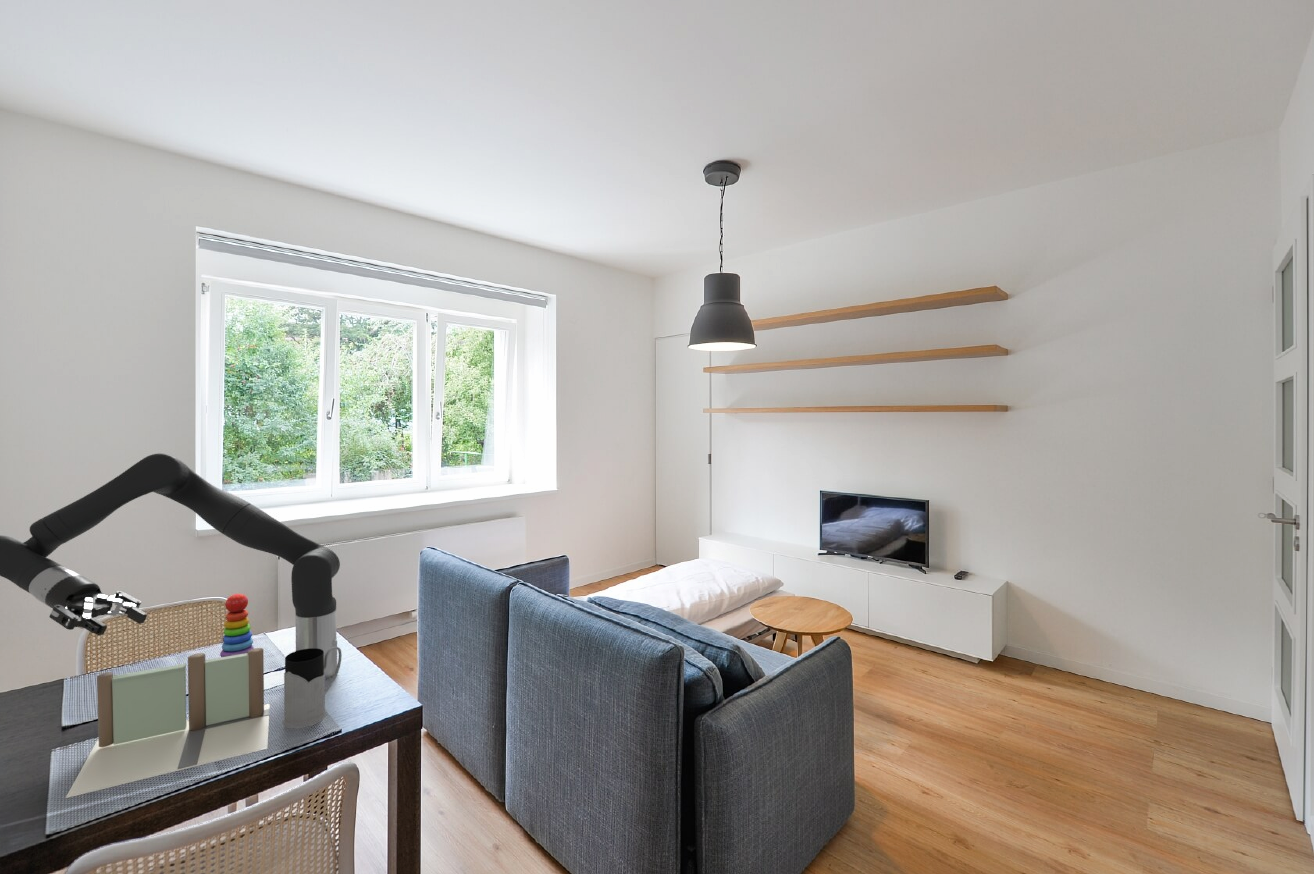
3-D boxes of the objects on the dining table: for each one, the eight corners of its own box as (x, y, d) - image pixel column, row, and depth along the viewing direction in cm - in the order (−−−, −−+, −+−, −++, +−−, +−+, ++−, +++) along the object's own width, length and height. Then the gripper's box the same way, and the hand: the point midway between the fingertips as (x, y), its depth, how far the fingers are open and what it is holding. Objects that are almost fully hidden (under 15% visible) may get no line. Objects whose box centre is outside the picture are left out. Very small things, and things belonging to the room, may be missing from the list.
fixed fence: (264, 710, 135) (263, 642, 134) (263, 716, 132) (263, 647, 131) (190, 726, 127) (188, 654, 127) (188, 732, 125) (186, 660, 124)
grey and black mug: (272, 725, 129) (272, 659, 128) (326, 695, 143) (326, 636, 142) (302, 733, 127) (302, 666, 126) (355, 702, 140) (354, 641, 139)
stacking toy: (262, 658, 162) (261, 592, 162) (233, 670, 155) (232, 601, 154) (242, 653, 165) (241, 588, 164) (212, 665, 158) (211, 597, 157)
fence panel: (186, 724, 127) (185, 659, 126) (185, 730, 125) (184, 663, 124) (100, 743, 119) (98, 673, 119) (97, 749, 117) (95, 678, 117)
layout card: (269, 705, 138) (269, 703, 138) (267, 750, 120) (267, 747, 120) (97, 741, 122) (97, 739, 122) (65, 799, 104) (65, 797, 104)
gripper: (33, 581, 119) (97, 618, 117) (106, 568, 133) (163, 601, 131) (18, 614, 119) (81, 651, 117) (92, 597, 133) (149, 630, 132)
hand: (124, 625), depth 124 cm, fingers open, 8 cm apart
